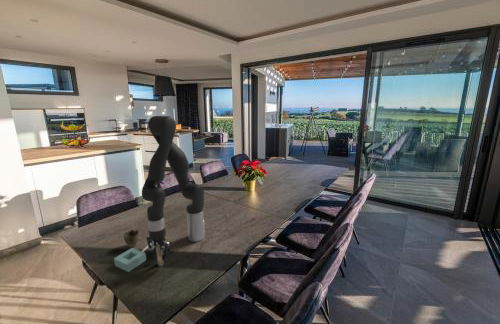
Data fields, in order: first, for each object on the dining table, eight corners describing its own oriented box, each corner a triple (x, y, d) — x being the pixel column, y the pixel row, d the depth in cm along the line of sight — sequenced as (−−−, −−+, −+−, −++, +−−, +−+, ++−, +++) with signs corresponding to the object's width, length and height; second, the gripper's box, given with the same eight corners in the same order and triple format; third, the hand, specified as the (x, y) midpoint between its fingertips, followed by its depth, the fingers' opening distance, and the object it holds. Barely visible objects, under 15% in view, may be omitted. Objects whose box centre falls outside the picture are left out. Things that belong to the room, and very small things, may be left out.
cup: (142, 243, 133) (141, 230, 131) (133, 250, 126) (132, 237, 124) (131, 241, 135) (129, 228, 133) (122, 248, 128) (120, 235, 126)
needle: (160, 261, 117) (158, 239, 114) (164, 263, 116) (162, 241, 113) (156, 264, 115) (154, 242, 112) (160, 266, 114) (158, 244, 111)
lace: (150, 244, 132) (150, 243, 132) (151, 244, 132) (151, 243, 132) (138, 254, 123) (138, 253, 123) (139, 255, 123) (139, 254, 123)
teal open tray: (133, 254, 123) (132, 247, 122) (146, 260, 119) (145, 253, 118) (114, 265, 114) (113, 258, 114) (128, 272, 110) (127, 264, 109)
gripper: (174, 226, 111) (176, 258, 115) (152, 220, 117) (155, 250, 121) (161, 234, 104) (164, 267, 108) (139, 226, 111) (143, 258, 115)
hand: (160, 257), depth 115 cm, fingers open, 5 cm apart
